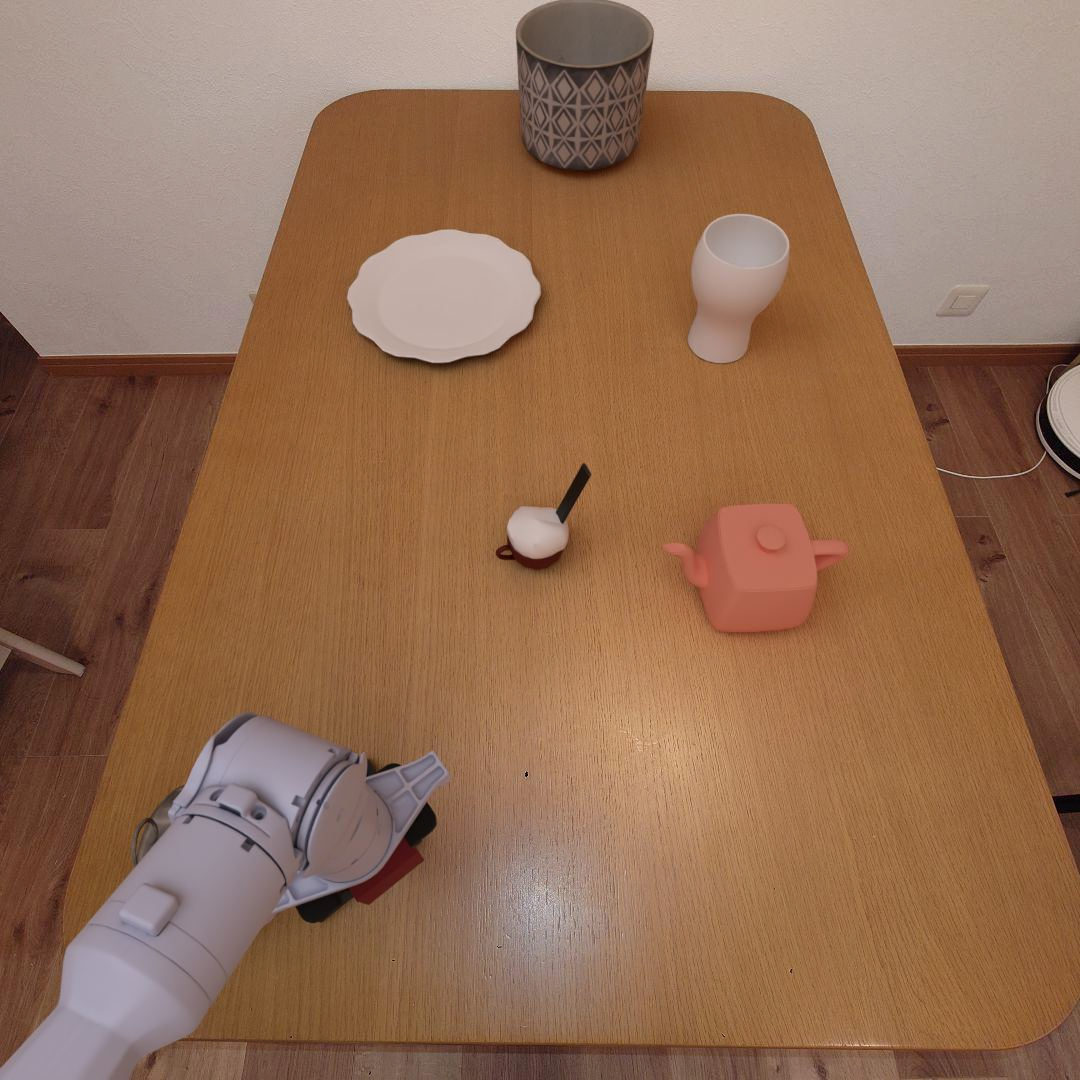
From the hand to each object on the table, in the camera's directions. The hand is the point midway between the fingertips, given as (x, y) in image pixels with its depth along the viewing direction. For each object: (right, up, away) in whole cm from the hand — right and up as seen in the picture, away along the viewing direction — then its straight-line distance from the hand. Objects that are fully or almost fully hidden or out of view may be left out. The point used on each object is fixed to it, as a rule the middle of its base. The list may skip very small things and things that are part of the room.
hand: (376, 851), depth 54 cm
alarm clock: (-14, -4, +7) cm, 17 cm away
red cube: (0, -1, +1) cm, 1 cm away
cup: (+35, +49, +38) cm, 71 cm away
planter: (+19, +86, +60) cm, 107 cm away
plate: (0, +55, +42) cm, 70 cm away
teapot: (+33, +18, +21) cm, 43 cm away
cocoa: (+12, +22, +23) cm, 34 cm away
